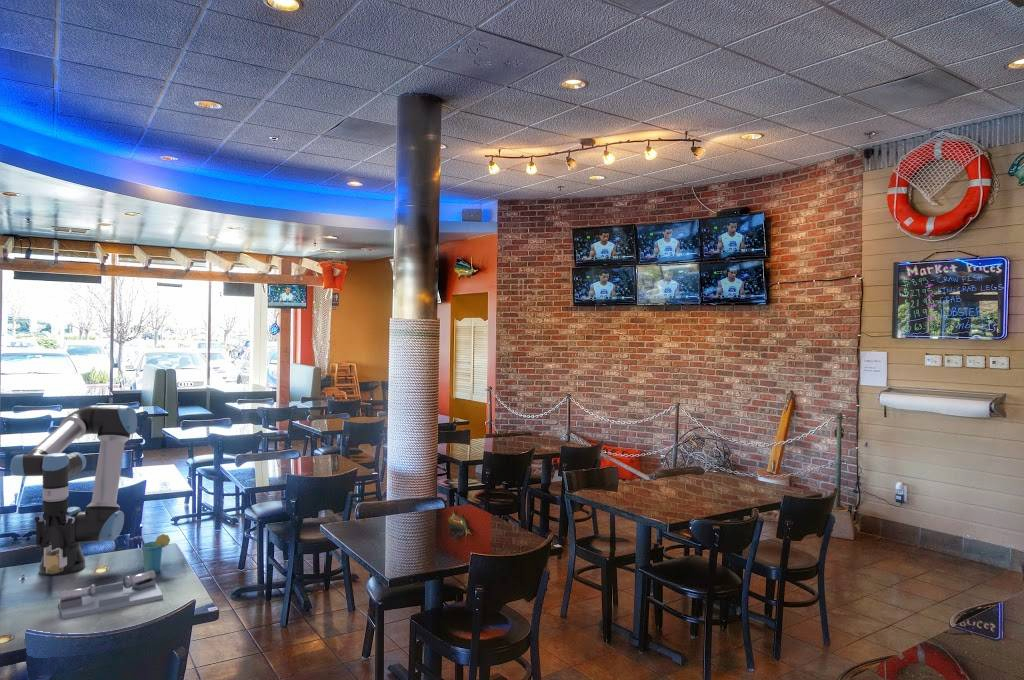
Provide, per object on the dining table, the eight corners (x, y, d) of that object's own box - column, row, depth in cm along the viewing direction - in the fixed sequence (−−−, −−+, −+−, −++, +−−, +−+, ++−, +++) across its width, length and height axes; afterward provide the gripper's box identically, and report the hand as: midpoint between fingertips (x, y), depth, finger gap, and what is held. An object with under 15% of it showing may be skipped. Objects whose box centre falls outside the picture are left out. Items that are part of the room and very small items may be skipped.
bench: (58, 603, 241) (58, 593, 240) (154, 585, 259) (154, 575, 258) (62, 619, 229) (62, 608, 228) (162, 598, 247) (162, 588, 246)
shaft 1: (59, 600, 236) (59, 588, 236) (94, 594, 242) (94, 582, 242) (60, 605, 233) (60, 592, 233) (95, 598, 239) (95, 586, 239)
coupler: (42, 573, 239) (42, 551, 238) (53, 568, 244) (53, 547, 243) (55, 574, 238) (56, 552, 238) (66, 569, 243) (67, 548, 243)
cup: (131, 578, 264) (131, 539, 264) (127, 572, 270) (127, 534, 270) (171, 571, 273) (171, 533, 272) (167, 565, 279) (167, 528, 278)
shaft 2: (122, 590, 249) (122, 575, 249) (149, 582, 257) (149, 567, 257) (129, 594, 246) (129, 578, 246) (157, 585, 255) (157, 570, 255)
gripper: (22, 500, 237) (22, 568, 238) (72, 502, 236) (72, 571, 237) (39, 495, 245) (39, 560, 246) (87, 497, 243) (87, 563, 244)
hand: (55, 565), depth 241 cm, fingers closed on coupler, 5 cm apart
